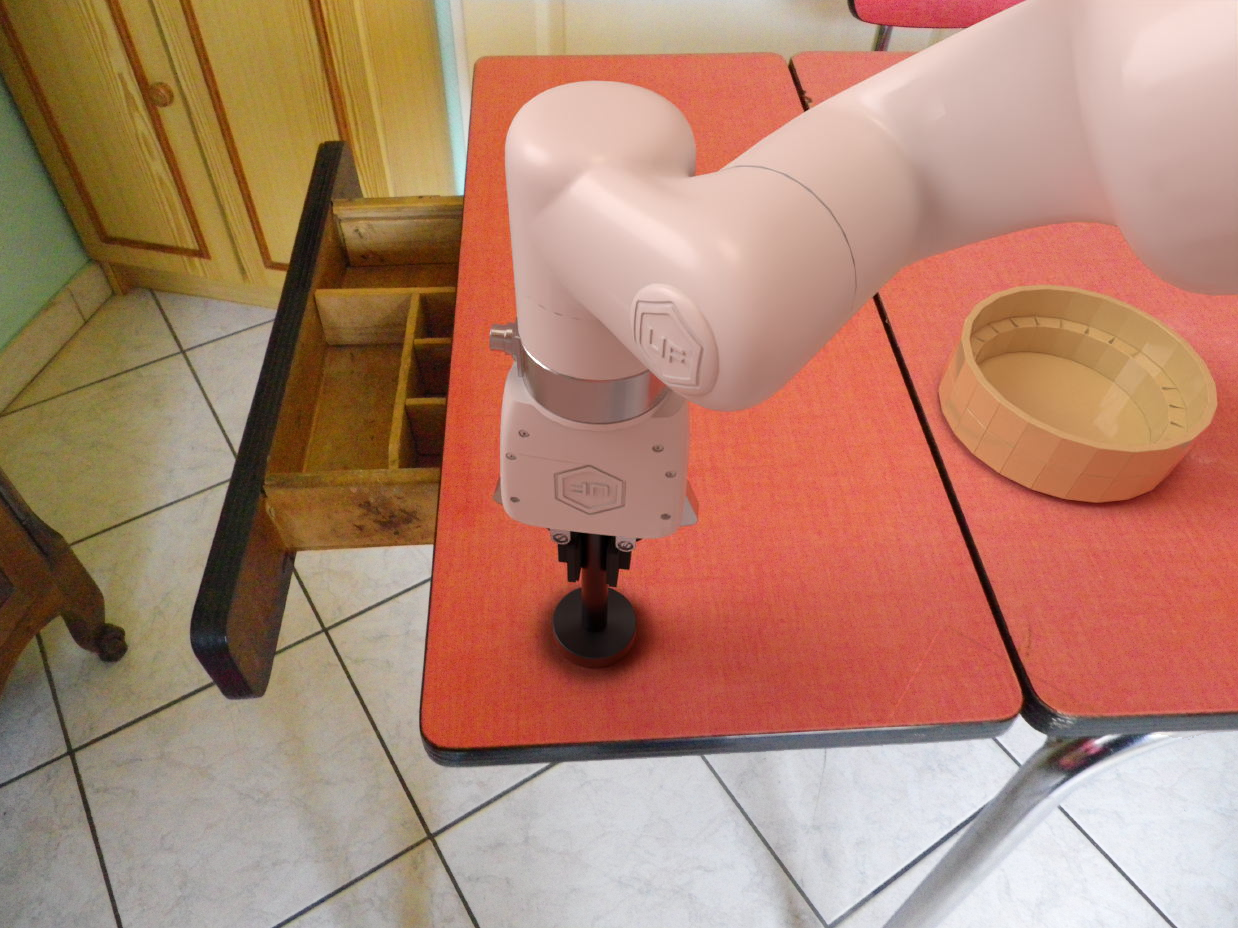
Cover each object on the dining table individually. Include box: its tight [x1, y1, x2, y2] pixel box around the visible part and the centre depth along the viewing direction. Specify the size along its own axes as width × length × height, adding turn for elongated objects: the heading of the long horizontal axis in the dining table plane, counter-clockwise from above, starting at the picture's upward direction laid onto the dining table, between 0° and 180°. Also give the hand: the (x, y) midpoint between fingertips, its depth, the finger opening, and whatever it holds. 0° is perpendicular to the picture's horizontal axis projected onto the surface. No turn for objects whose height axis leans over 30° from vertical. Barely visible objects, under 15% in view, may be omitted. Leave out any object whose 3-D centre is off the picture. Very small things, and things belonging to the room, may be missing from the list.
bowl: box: [938, 284, 1219, 504], centre depth 74 cm, size 20×20×7 cm
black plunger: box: [551, 532, 638, 669], centre depth 56 cm, size 6×6×14 cm
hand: (595, 564), depth 55 cm, fingers closed on black plunger
